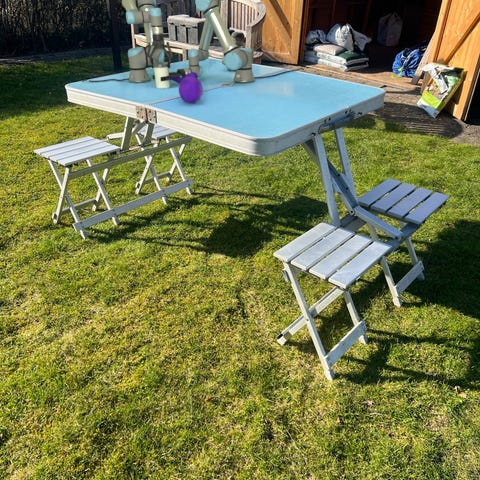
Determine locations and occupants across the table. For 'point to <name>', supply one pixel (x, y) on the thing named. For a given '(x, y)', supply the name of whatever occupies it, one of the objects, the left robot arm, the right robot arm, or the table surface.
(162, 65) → the lid
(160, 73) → the jar
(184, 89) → the toy
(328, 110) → the table surface
